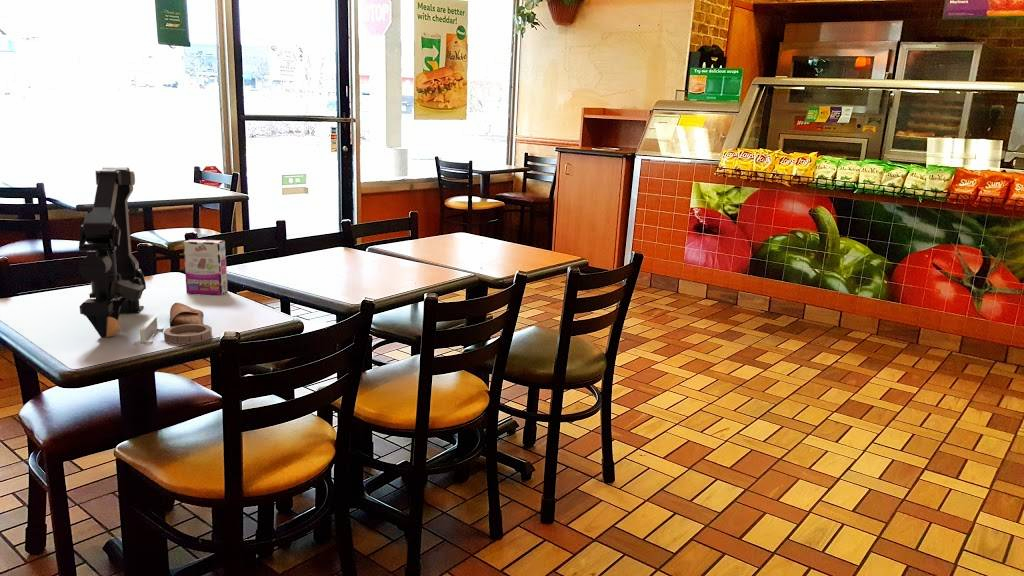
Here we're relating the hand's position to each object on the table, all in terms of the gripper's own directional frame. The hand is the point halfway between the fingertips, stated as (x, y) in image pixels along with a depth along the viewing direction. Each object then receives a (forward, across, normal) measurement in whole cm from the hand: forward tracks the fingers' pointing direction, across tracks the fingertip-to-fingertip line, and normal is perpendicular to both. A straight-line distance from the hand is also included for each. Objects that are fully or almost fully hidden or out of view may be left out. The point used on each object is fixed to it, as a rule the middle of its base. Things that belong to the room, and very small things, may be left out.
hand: (108, 332), depth 188 cm
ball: (+1, 0, 0) cm, 1 cm away
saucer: (+1, -2, -19) cm, 19 cm away
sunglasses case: (+1, +11, -16) cm, 19 cm away
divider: (+1, -1, -10) cm, 10 cm away
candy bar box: (+1, +44, -15) cm, 47 cm away
